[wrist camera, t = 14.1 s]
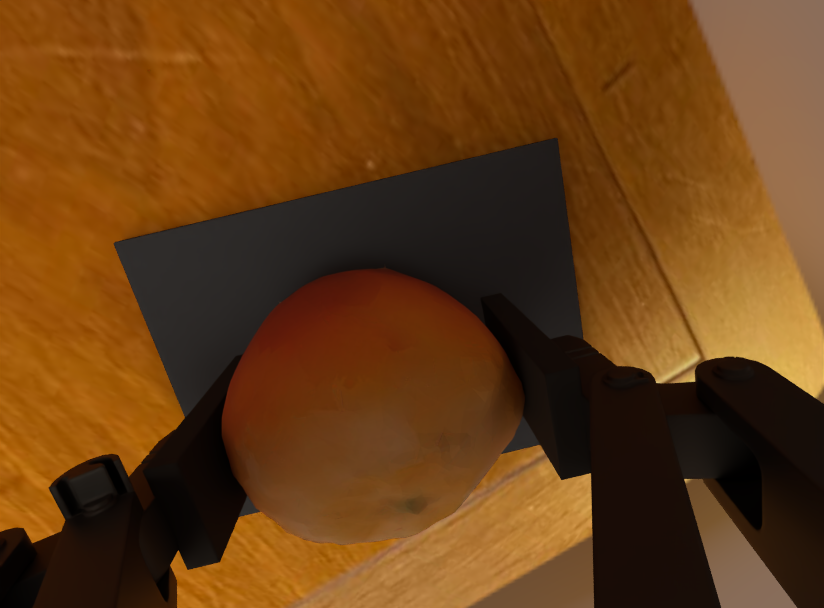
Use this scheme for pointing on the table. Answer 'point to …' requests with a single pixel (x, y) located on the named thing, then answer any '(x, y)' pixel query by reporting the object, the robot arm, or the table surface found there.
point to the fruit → (368, 408)
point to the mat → (361, 257)
